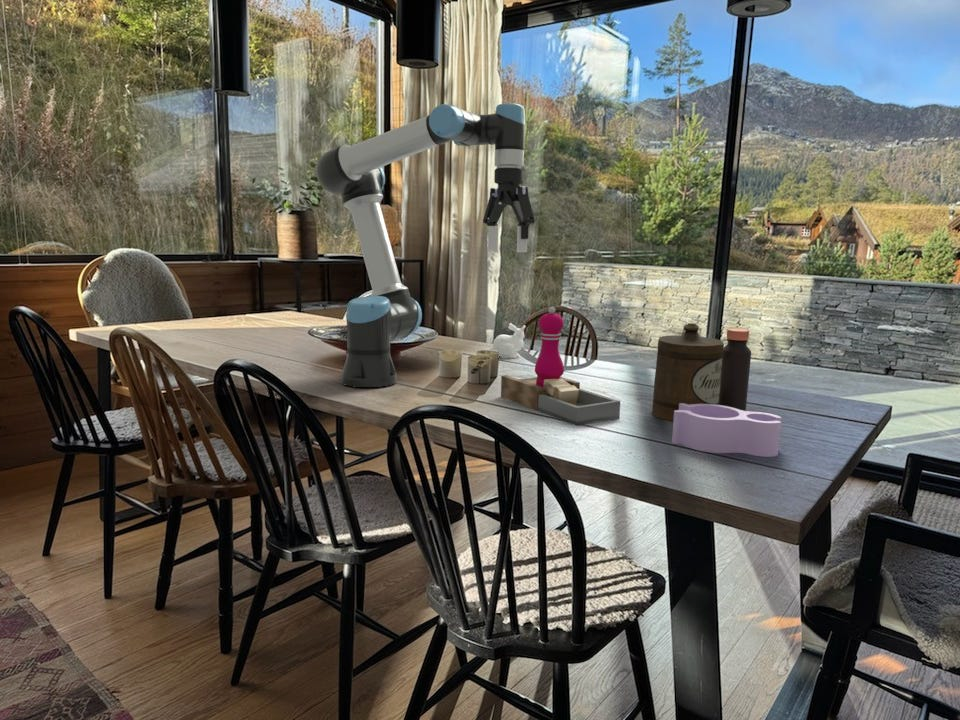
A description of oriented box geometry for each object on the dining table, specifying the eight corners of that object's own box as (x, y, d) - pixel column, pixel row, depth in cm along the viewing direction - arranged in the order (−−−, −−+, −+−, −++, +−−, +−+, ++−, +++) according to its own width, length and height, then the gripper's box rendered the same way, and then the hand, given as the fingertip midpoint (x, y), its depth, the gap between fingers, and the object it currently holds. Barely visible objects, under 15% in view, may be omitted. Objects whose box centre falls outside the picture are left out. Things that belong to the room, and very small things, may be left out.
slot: (500, 396, 175) (501, 375, 174) (541, 391, 181) (541, 371, 180) (537, 410, 162) (537, 388, 161) (578, 404, 169) (579, 382, 168)
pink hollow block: (778, 444, 139) (782, 412, 138) (777, 462, 128) (780, 427, 127) (678, 431, 148) (681, 400, 146) (669, 447, 136) (671, 414, 135)
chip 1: (542, 389, 165) (544, 379, 164) (560, 388, 167) (562, 378, 166) (552, 396, 160) (553, 386, 160) (570, 395, 162) (572, 385, 161)
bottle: (747, 410, 166) (755, 329, 162) (742, 416, 160) (750, 332, 156) (719, 406, 169) (726, 327, 165) (713, 412, 163) (720, 330, 160)
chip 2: (555, 386, 159) (561, 391, 157) (573, 385, 161) (579, 389, 159) (551, 405, 161) (557, 410, 159) (569, 403, 163) (575, 408, 161)
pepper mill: (562, 384, 172) (566, 305, 169) (563, 390, 165) (567, 308, 161) (534, 383, 173) (537, 304, 169) (534, 389, 166) (536, 307, 162)
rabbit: (520, 354, 235) (521, 320, 233) (529, 359, 226) (530, 323, 224) (487, 355, 232) (487, 320, 230) (494, 360, 224) (495, 324, 221)
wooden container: (710, 427, 150) (719, 329, 146) (644, 417, 157) (650, 324, 153) (722, 413, 163) (730, 322, 159) (661, 404, 170) (667, 317, 166)
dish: (538, 410, 161) (538, 394, 161) (579, 404, 168) (580, 388, 167) (576, 425, 150) (576, 407, 149) (619, 417, 157) (620, 401, 156)
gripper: (550, 165, 166) (547, 253, 170) (494, 171, 186) (492, 249, 190) (525, 163, 162) (523, 253, 166) (471, 170, 183) (470, 249, 187)
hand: (506, 251), depth 178 cm, fingers open, 13 cm apart
